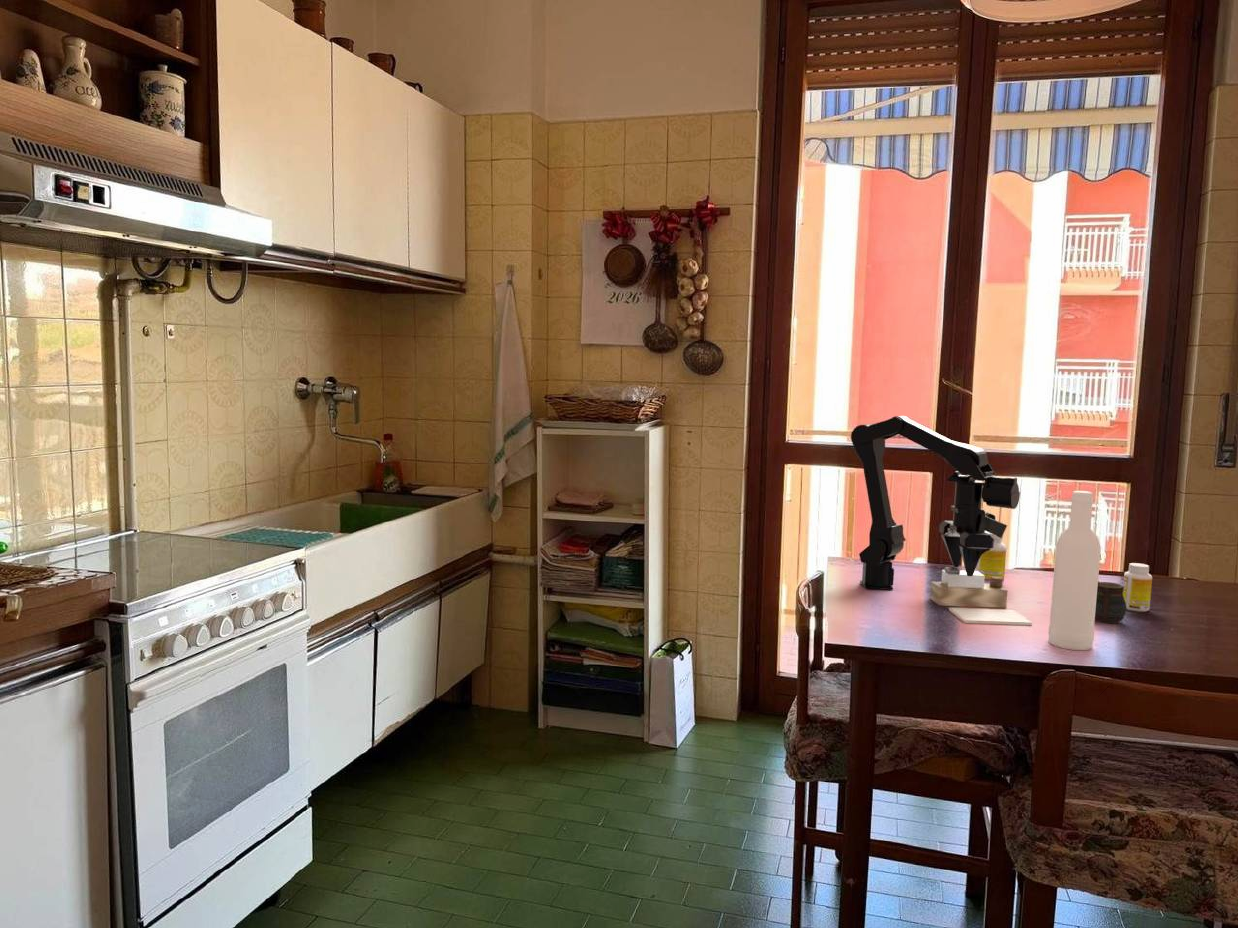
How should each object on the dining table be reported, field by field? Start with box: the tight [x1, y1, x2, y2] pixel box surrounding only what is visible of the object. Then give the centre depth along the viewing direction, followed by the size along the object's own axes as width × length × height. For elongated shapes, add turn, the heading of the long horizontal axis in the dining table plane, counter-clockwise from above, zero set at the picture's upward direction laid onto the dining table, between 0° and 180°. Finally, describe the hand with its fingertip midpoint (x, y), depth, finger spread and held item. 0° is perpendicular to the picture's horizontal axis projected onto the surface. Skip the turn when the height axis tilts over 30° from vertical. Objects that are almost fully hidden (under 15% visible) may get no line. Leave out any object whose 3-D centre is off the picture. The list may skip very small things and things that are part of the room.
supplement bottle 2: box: [1122, 562, 1153, 613], centre depth 208 cm, size 6×6×10 cm
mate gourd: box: [1095, 580, 1128, 624], centre depth 197 cm, size 7×8×10 cm
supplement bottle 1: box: [975, 531, 1007, 585], centre depth 230 cm, size 7×7×13 cm
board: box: [948, 607, 1033, 626], centre depth 198 cm, size 14×10×1 cm
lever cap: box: [940, 566, 985, 589], centre depth 209 cm, size 8×5×4 cm, turn 88°
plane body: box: [929, 577, 1008, 609], centre depth 209 cm, size 15×6×6 cm, turn 88°
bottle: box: [1047, 490, 1102, 651], centre depth 178 cm, size 8×8×30 cm
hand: (962, 571), depth 209 cm, fingers open, 9 cm apart
